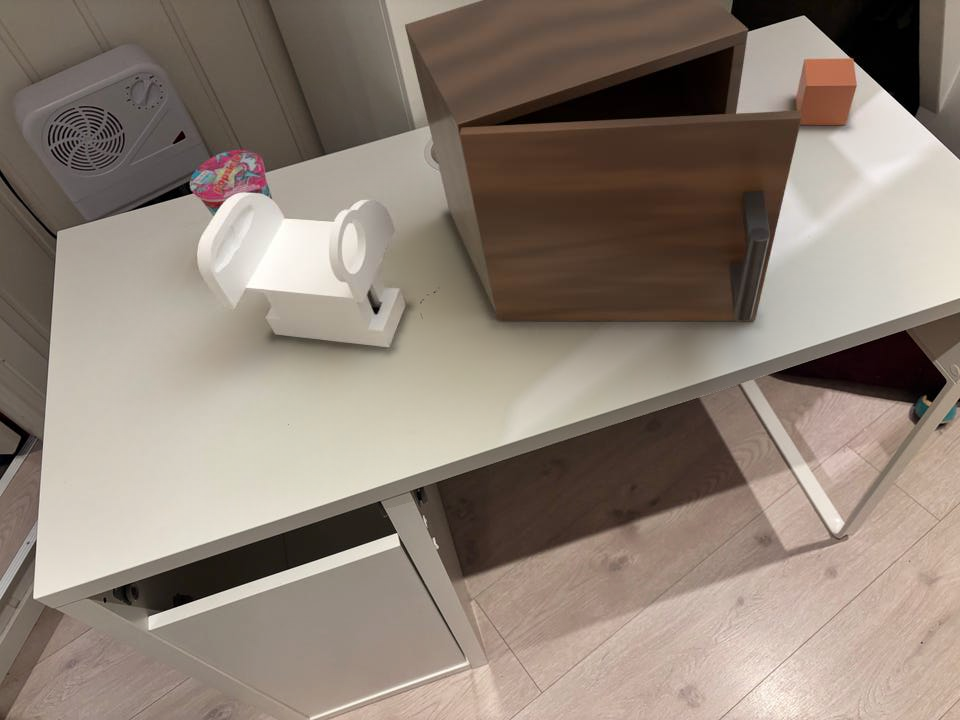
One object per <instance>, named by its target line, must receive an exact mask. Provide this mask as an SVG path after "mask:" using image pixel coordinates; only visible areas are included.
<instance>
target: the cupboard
mask: <svg viewBox="0 0 960 720" xmlns="http://www.w3.org/2000/svg"><path fill="white" fill-rule="evenodd" d="M404 28H405V32H406V36H407V40H408V44H409V49H410V53H411V57H412V62H413V65H414V69H415V74H416V77H417V82H418V87H419V90H420V95H421V99H422V103H423V106H424V111H425V115H426V119H427V123H428V128H429V132H430V136H431V140H432V144H433V147H434V153H435V157H436V161H437V165H438V169H439V173H440V177H441V182H442V185H443V190H444V195H445V198H446V201H447V206H448V210H449V211H448V212H449V213H450V216H451V218H452V220H453V223H454V225H455V226H456V228H457V231H458V234H459V235H460V238H461V239H462V242H463V244H464V246H465V248H466V251H467V253H468V255H469V258H470V259H471V262H472V264H473V266H474V268H475V270H476V272H477V275H478V277H479V279H480V281H481V284H482V286H483V288H484V290H485V293H486V294H487V297H488V299H489V301H490V303H491V306H492V308H493V310H494V312H495V313H496V310H495V305H494V301H493V296H492V291H491V286H490V281H489V276H488V271H487V266H486V262H485V257H484V252H483V247H482V242H481V237H480V232H479V227H478V222H477V218H476V213H475V208H474V203H473V198H472V193H471V188H470V183H469V178H468V174H467V169H466V164H465V159H464V154H463V149H462V144H461V139H460V131H461V128H464V127H483V126H503V125H523V124H542V123H562V122H581V121H601V120H621V119H640V118H660V117H680V116H699V115H719V114H737V110H738V103H739V98H740V97H739V96H740V90H741V82H742V77H743V69H744V63H745V57H746V56H745V55H746V50H747V40H748V34H749V28H748V27H747V26H745V24H744V23H742V22H741V21H740V20H739V19H738V18H736V17H735V16H734V15H733V14H732V13H731V12H729V11H728V10H727V9H726V8H725V7H724V6H723V5H722V4H721V3H720V2H718V1H717V0H478V1H475V2H472V3H468V4H466V5H462V6H459V7H456V8H453V9H450V10H447V11H443V12H440V13H437V14H434V15H431V16H428V17H425V18H421V19H418V20H415V21H412V22H409V23H406V24H404Z"/></svg>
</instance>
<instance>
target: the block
mask: <svg viewBox="0 0 960 720" xmlns="http://www.w3.org/2000/svg"><path fill="white" fill-rule="evenodd" d="M802 63H803V64H802V69H801V73H800V77H799V83H798V86H797V91H796V96H795V104H796V106H795V109H796V111H797V110H799V111H800V113H801V118H802V119H801V123H800V126H846V125H847V122H848V118H849V114H850V111H851V108H852V104H853V100H854V98H855V97H854V96H855V94H856V90H857V87H858V83H857V76H856V68H855V61H854V58H852V57H851V58H804V60H803V62H802Z"/></svg>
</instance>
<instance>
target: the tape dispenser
mask: <svg viewBox="0 0 960 720" xmlns="http://www.w3.org/2000/svg"><path fill="white" fill-rule="evenodd" d="M272 199H273V198H272ZM272 199H271V198H269V197H268V196H266V195H264V194H260V193H245V192H243V193H237V194H235V195H233V196H231V197H230V198H228V199H227V200H226V201H225V202H224V203H223V204H222V205H221V206H220V208H219V209H218V211H217V212H216V214H215V216H213V217H212V218H211V221H210V222H209V223H208V224H207V226H206V228H205V230H204V231H203V233H202V234H201V236H200V239H199V242H198V245H197V253H196V254H197V255H196V260H197V261H196V262H197V266H198V270H199V273H200V275H201V277H202V279H203V280H204V282H205V284H206V285H207V286H208V288H209V289H210V291H211V293H212V294H213V296H214V297H215V298H216V300H217V302H218V303H219V305H220V306H221V308H224V309H232V310H235V309H236V307H237V306H238V303H239V302H240V300H241V298H242V296H243V294H244V293H245V292H249V293H250V292H251V293H261V294H264V295H265V298H266V299H267V301H268V303H269V304H270V306H271V307H270V309H269V312H268V313H267V315H266V316H265V319H266V321H267V323H268V324H269V327H270V328H271V330H272V331H273V333H274V334H275V335H277V336H286V337H296V338H304V339H311V340H312V339H314V340H320V341H328V342H329V341H330V342H337V343H338V342H339V343H347V344H355V345H356V344H357V345H365V346H372V347H373V346H374V347H382V348H390V347H391V344H392V341H393V339H394V337H395V334H396V331H397V328H398V326H399V325H400V324H399V323H400V321H401V319H402V316H403V313H404V311H405V308H406V302H405V300H404V297H403V294H402V291H401V289H400V288H397V287H387V286H386V284H385V282H384V279H383V276H382V273H381V271H380V265H381V263H382V262H383V261H382V260H383V259H384V257H385V255H386V252H387V249H388V248H389V245H390V242H391V240H392V238H393V235H394V233H395V231H396V229H395V226H394V223H393V219H392V218H391V215H390V212H389V210H388V209H387V208H386V207H385V205H383V203H382V202H380V201H378V200H375V199H360V200H357V201H356V202H355V203H354V204H353V205H352V206H351V207H349V209H347V208H346V209H342V210H341V211H340V212H338V214H337V215H336V217H335V218H334V221H329V220H327V221H326V220H313V219H312V220H311V219H300V218H299V219H295V218H285V216H284V214H283V211H282V210H281V209H280V207H279V206H278V204H277V203H276V202H275V201H274V199H273V200H272ZM373 308H379V310H378V311H377V314H376V313H375V312H374V310H373Z"/></svg>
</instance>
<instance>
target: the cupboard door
mask: <svg viewBox="0 0 960 720" xmlns="http://www.w3.org/2000/svg"><path fill="white" fill-rule="evenodd" d="M801 119H802V118H801V113H800V111H799V110H797V109H796V110H779V111H762V112H761V111H760V112H759V111H758V112H739V113H736V114H719V115H699V116H680V117H660V118H640V119H621V120H601V121H581V122H562V123H542V124H523V125H503V126H483V127H464V128H461V131H460V139H461V144H462V149H463V154H464V159H465V164H466V169H467V174H468V178H469V183H470V188H471V193H472V198H473V203H474V208H475V213H476V218H477V222H478V227H479V232H480V237H481V242H482V247H483V252H484V257H485V262H486V266H487V271H488V276H489V281H490V286H491V291H492V296H493V301H494V305H495V310H496V312H495V315H496V319H497V322H498V321H501V322H502V321H503V322H504V321H505V322H506V321H509V322H511V321H512V322H513V321H514V322H515V321H517V322H519V321H520V322H521V321H523V322H524V321H525V322H528V321H529V322H531V321H532V322H533V321H537V322H539V321H540V322H541V321H543V322H544V321H547V322H548V321H549V322H550V321H551V322H555V321H556V322H557V321H559V322H564V321H566V322H567V321H568V322H569V321H571V322H573V321H574V322H576V321H577V322H579V321H581V322H582V321H586V322H588V321H589V322H590V321H591V322H592V321H593V322H596V321H597V322H598V321H599V322H603V321H605V322H607V321H608V322H609V321H612V322H614V321H615V322H617V321H619V322H620V321H621V322H623V321H625V322H626V321H628V322H629V321H631V322H634V321H635V322H637V321H639V322H641V321H642V322H643V321H644V322H645V321H646V322H647V321H649V322H651V321H655V322H657V321H659V322H661V321H662V322H663V321H665V322H666V321H667V322H668V321H669V322H671V321H672V322H673V321H674V322H676V321H677V322H679V321H681V322H683V321H685V322H687V321H690V322H691V321H693V322H694V321H695V322H700V321H701V322H703V321H706V322H707V321H708V322H710V321H711V322H713V321H714V322H717V321H721V322H723V321H724V322H726V321H727V322H728V321H730V322H732V321H733V322H739V321H740V322H747V321H749V322H751V321H752V322H754V321H755V322H756V318H757V314H758V310H759V307H760V301H761V296H762V292H763V289H764V284H765V279H766V276H767V272H768V271H767V270H768V267H769V262H770V258H771V255H772V254H771V253H772V250H773V244H774V240H775V236H776V232H777V228H778V223H779V219H780V215H781V210H782V206H783V205H782V204H783V201H784V197H785V192H786V188H787V185H788V179H789V175H790V171H791V166H792V162H793V158H794V153H795V149H796V145H797V140H798V136H799V131H800V128H801V125H800V123H801ZM495 310H494V311H495Z"/></svg>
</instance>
